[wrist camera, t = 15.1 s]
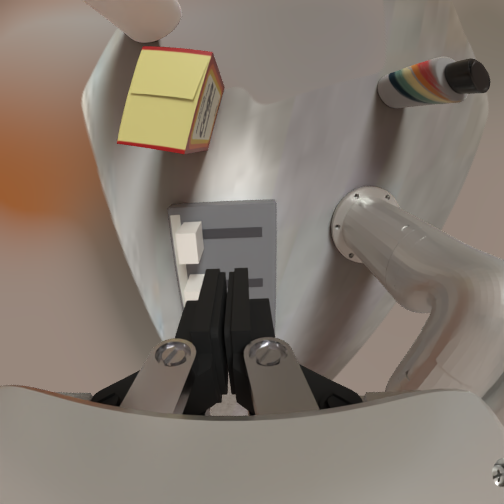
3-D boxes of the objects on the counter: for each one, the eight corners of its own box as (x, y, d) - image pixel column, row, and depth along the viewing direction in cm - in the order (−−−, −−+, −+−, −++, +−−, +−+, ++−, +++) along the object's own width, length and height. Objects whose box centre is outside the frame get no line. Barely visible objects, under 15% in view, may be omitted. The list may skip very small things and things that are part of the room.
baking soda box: (207, 150, 36) (183, 154, 21) (164, 142, 35) (115, 143, 20) (224, 87, 32) (212, 50, 17) (180, 80, 31) (141, 45, 17)
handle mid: (206, 274, 40) (202, 291, 35) (209, 297, 41) (205, 316, 36) (190, 274, 40) (183, 291, 35) (193, 297, 41) (188, 316, 36)
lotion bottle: (400, 74, 31) (487, 52, 12) (409, 107, 33) (501, 102, 15) (372, 76, 31) (457, 45, 13) (382, 110, 33) (474, 101, 15)
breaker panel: (274, 199, 39) (276, 203, 36) (273, 332, 48) (274, 341, 46) (171, 204, 38) (167, 208, 36) (191, 334, 48) (189, 343, 45)
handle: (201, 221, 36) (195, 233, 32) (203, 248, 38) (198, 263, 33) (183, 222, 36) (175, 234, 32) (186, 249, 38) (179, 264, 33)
